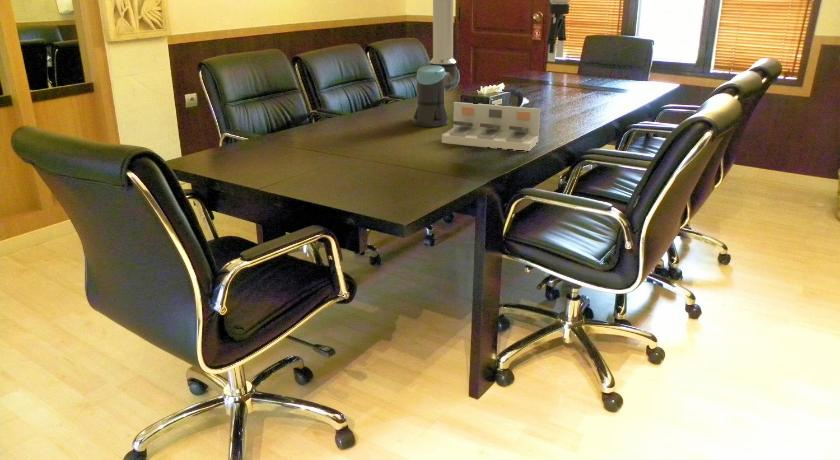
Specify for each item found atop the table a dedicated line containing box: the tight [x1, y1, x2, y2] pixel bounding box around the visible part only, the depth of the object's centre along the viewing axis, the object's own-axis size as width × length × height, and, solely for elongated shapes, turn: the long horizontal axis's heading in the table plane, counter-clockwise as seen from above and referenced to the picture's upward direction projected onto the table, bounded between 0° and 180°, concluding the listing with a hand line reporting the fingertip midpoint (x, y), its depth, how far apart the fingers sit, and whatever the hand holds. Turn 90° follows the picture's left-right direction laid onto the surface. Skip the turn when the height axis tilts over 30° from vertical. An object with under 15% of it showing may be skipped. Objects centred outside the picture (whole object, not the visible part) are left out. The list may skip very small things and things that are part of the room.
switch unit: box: [441, 101, 541, 152], centre depth 242 cm, size 34×14×13 cm, turn 68°
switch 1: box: [451, 120, 473, 126], centre depth 246 cm, size 5×10×1 cm, turn 158°
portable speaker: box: [501, 87, 524, 107], centre depth 296 cm, size 25×10×10 cm, turn 117°
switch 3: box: [509, 126, 528, 132], centre depth 238 cm, size 5×10×1 cm, turn 158°
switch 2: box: [480, 123, 500, 129], centre depth 242 cm, size 5×10×1 cm, turn 158°
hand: (555, 59), depth 258 cm, fingers open, 13 cm apart
